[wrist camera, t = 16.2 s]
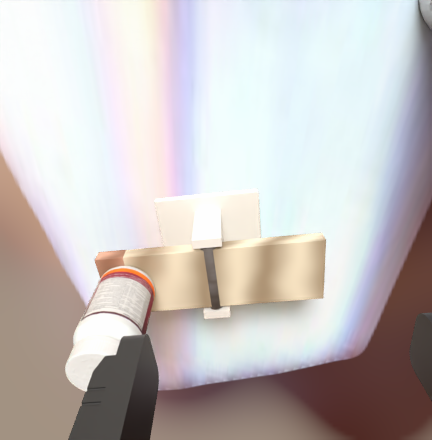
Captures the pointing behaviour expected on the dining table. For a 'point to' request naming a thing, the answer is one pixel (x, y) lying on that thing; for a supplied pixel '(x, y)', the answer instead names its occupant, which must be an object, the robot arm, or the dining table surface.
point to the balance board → (228, 271)
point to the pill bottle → (110, 320)
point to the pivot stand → (209, 223)
